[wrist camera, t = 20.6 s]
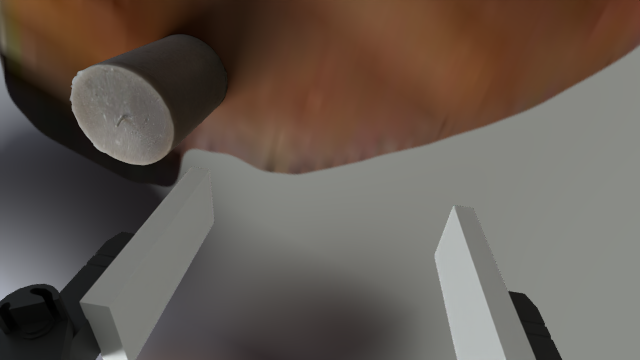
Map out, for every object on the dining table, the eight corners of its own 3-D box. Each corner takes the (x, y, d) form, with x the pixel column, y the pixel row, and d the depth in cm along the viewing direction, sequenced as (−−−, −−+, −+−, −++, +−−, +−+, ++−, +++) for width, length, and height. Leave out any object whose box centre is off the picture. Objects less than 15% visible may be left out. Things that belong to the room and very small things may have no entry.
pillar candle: (242, 72, 42) (188, 121, 30) (203, 128, 47) (140, 191, 34) (171, 14, 40) (78, 39, 27) (137, 78, 44) (43, 126, 32)
